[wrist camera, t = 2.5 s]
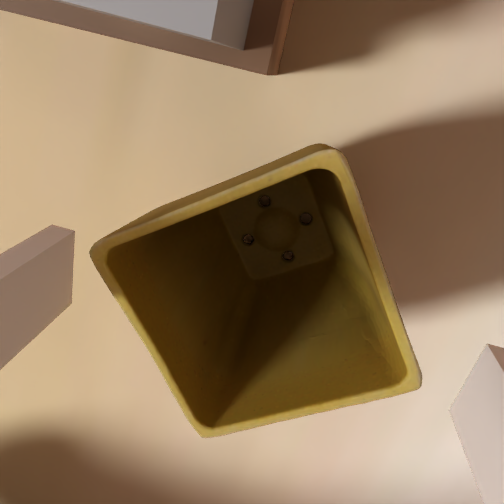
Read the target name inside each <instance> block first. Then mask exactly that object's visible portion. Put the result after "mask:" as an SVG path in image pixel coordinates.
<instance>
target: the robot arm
mask: <svg viewBox="0 0 504 504" xmlns="http://www.w3.org/2000/svg"><path fill="white" fill-rule="evenodd" d="M74 237H75V231H73V230H70V229H66V228H62V227H59V226H55V225H51V226H49V227H47V228H45V229H44V230H42V231H40V232H38V233H37V234H35V235H33V236H31V237H30V238H28V239H26V240H24V241H23V242H21V243H19V244H17V245H16V246H14V247H12V248H10V249H9V250H7V251H5V252H4V253H2V254H0V370H1V369H2V368H3V367H4V366H5V365H6V364H7V363H8V362H9V361H10V360H11V359H12V358H13V357H15V356H16V355H17V354H18V353H19V352H20V351H21V350H22V349H23V348H24V347H25V346H26V345H27V344H29V343H30V342H31V341H32V340H33V339H34V338H35V337H36V336H37V335H38V334H39V333H40V332H41V331H42V330H44V329H45V328H46V327H47V326H48V325H49V324H50V323H51V322H52V321H53V320H54V319H55V318H56V317H57V316H59V315H60V314H61V313H62V312H63V311H64V310H65V309H66V308H67V307H68V306H69V305H70V304H71V303H72V283H73V260H74ZM449 412H450V414H451V417H452V420H453V422H454V425H455V428H456V431H457V433H458V436H459V439H460V441H461V444H462V447H463V449H464V452H465V455H466V458H467V460H468V463H469V466H470V468H471V471H472V474H473V476H474V479H475V482H476V485H477V487H478V490H479V493H480V495H481V498H482V501H483V503H484V504H504V348H501V347H498V346H494V345H490V344H486V346H485V347H484V349H483V351H482V353H481V355H480V356H479V358H478V360H477V362H476V363H475V365H474V367H473V369H472V370H471V372H470V374H469V376H468V377H467V379H466V381H465V383H464V384H463V386H462V388H461V390H460V391H459V393H458V395H457V397H456V398H455V400H454V402H453V404H452V405H451V407H450V409H449Z"/></svg>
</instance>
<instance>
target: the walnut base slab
mask: <svg viewBox="0 0 504 504" xmlns="http://www.w3.org/2000/svg"><path fill="white" fill-rule="evenodd" d="M293 3H294V0H254V2H253V7H252V12H251V16H250V21H249V26H248V31H247V36H246V40H245V45H244V50H239V49H235V48H231V47H227V46H224V45H220V44H216V43H212V42H208V41H205V40H201V39H197V38H193V37H189V36H186V35H182V34H178V33H174V32H171V31H167V30H163V29H159V28H155V27H152V26H148V25H144V24H140V23H136V22H133V21H129V20H125V19H121V18H117V17H114V16H110V15H106V14H102V13H99V12H95V11H91V10H87V9H83V8H80V7H76V6H72V5H68V4H64V3H61V2H57V1H53V0H0V10H4V11H8V12H12V13H16V14H20V15H24V16H28V17H32V18H36V19H40V20H44V21H48V22H52V23H57V24H61V25H65V26H69V27H73V28H77V29H81V30H85V31H89V32H93V33H97V34H101V35H105V36H109V37H113V38H117V39H121V40H126V41H130V42H134V43H138V44H142V45H146V46H150V47H154V48H158V49H162V50H166V51H170V52H174V53H178V54H182V55H186V56H190V57H195V58H199V59H203V60H207V61H211V62H215V63H219V64H223V65H227V66H231V67H235V68H239V69H243V70H247V71H251V72H255V73H259V74H264V75H277V73H278V69H279V65H280V60H281V56H282V51H283V47H284V43H285V38H286V34H287V30H288V25H289V21H290V16H291V12H292V8H293Z"/></svg>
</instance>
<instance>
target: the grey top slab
mask: <svg viewBox="0 0 504 504" xmlns="http://www.w3.org/2000/svg"><path fill="white" fill-rule="evenodd" d="M53 1H57V2H61V3H64V4H68V5H72V6H76V7H80V8H83V9H87V10H91V11H95V12H99V13H102V14H106V15H110V16H114V17H117V18H121V19H125V20H129V21H133V22H136V23H140V24H144V25H148V26H152V27H155V28H159V29H163V30H167V31H171V32H174V33H178V34H182V35H186V36H189V37H193V38H197V39H201V40H205V41H208V42H212V43H216V44H220V45H224V46H227V47H231V48H235V49H239V50H244V45H245V40H246V36H247V31H248V26H249V21H250V16H251V12H252V7H253V2H254V0H53Z"/></svg>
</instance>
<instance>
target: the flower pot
mask: <svg viewBox="0 0 504 504" xmlns="http://www.w3.org/2000/svg"><path fill="white" fill-rule="evenodd" d="M261 196H268V197H269V199H270V204H269V205H268V206H262V205H261V204H260V203H259V199H260V197H261ZM304 213H308V214H310V215H311V217H312V219H311V221H310V222H309V223H303V222H302V221H301V219H300V218H301V215H302V214H304ZM246 234H250V235H252V236H253V238H254V241H253V242H252V243H250V244H248V243H245V242H244V240H243V237H244V236H245V235H246ZM285 251H291V252H292V253H293V258H292V259H291V260H285V259H284V258H283V253H284V252H285ZM90 257H91V259H92V261H93V263H94V265H95V267H96V269H97V270H98V272H99V273H100V275H101V277H102V279H103V280H104V282H105V283H106V285H107V287H108V288H109V290H110V291H111V293H112V295H113V296H114V298H115V299H116V301H117V302H118V303H119V305H120V306H121V308H122V310H123V311H124V313H125V315H126V316H127V318H128V320H129V321H130V323H131V324H132V326H133V327H134V329H135V330H136V332H137V334H138V335H139V337H140V338H141V340H142V341H143V343H144V344H145V346H146V348H147V349H148V351H149V353H150V354H151V356H152V358H153V359H154V361H155V363H156V365H157V366H158V368H159V370H160V372H161V373H162V375H163V377H164V379H165V381H166V383H167V385H168V387H169V388H170V390H171V392H172V393H173V395H174V397H175V399H176V401H177V402H178V404H179V406H180V407H181V409H182V411H183V413H184V415H185V416H186V418H187V420H188V421H189V423H190V424H191V425H192V427H193V428H194V429H195V430H196V431H197V433H198V434H199V435H200V436H201V437H203V438H211V437H218V436H222V435H227V434H231V433H235V432H239V431H243V430H248V429H252V428H256V427H260V426H264V425H268V424H272V423H276V422H280V421H286V420H290V419H294V418H299V417H303V416H307V415H311V414H315V413H321V412H326V411H330V410H334V409H338V408H342V407H346V406H352V405H357V404H363V403H367V402H371V401H374V400H379V399H384V398H389V397H393V396H397V395H400V394H404V393H407V392H411V391H414V390H417V389H419V388H420V387H421V384H422V373H421V370H420V367H419V364H418V361H417V359H416V356H415V354H414V351H413V348H412V346H411V343H410V340H409V338H408V335H407V332H406V329H405V327H404V324H403V321H402V318H401V315H400V313H399V310H398V307H397V304H396V301H395V298H394V295H393V292H392V290H391V287H390V284H389V281H388V277H387V275H386V272H385V269H384V266H383V263H382V260H381V258H380V255H379V252H378V249H377V246H376V243H375V240H374V237H373V234H372V231H371V228H370V225H369V222H368V219H367V215H366V212H365V209H364V206H363V203H362V200H361V197H360V194H359V191H358V188H357V185H356V182H355V179H354V177H353V174H352V171H351V169H350V166H349V164H348V161H347V159H346V157H345V156H344V155H343V154H342V153H341V152H340V151H339V150H337V149H335V148H332V147H330V146H328V145H326V144H314V145H310V146H308V147H305V148H303V149H301V150H298V151H296V152H294V153H291V154H289V155H287V156H285V157H282V158H280V159H278V160H275V161H273V162H271V163H268V164H266V165H263V166H261V167H259V168H256V169H254V170H251V171H249V172H246V173H244V174H241V175H239V176H237V177H234V178H232V179H229V180H227V181H224V182H222V183H219V184H217V185H214V186H212V187H209V188H207V189H204V190H201V191H199V192H196V193H194V194H191V195H189V196H186V197H184V198H181V199H178V200H176V201H173V202H171V203H168V204H165V205H163V206H161V207H158V208H156V209H154V210H152V211H150V212H149V213H147V214H145V215H143V216H141V217H140V218H138V219H136V220H134V221H132V222H130V223H129V224H127V225H125V226H123V227H121V228H120V229H118V230H116V231H114V232H112V233H111V234H109V235H107V236H105V237H104V238H102V239H100V240H99V241H97V242H96V243H94V245H93V246H92V247H91V249H90Z"/></svg>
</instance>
